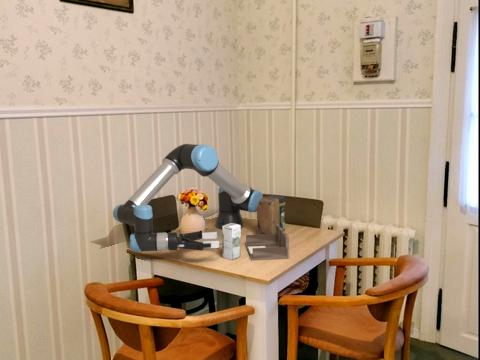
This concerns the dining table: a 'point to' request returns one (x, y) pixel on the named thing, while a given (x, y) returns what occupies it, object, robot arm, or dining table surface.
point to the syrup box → (231, 241)
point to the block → (268, 215)
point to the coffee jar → (281, 209)
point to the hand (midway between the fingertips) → (218, 239)
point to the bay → (268, 245)
